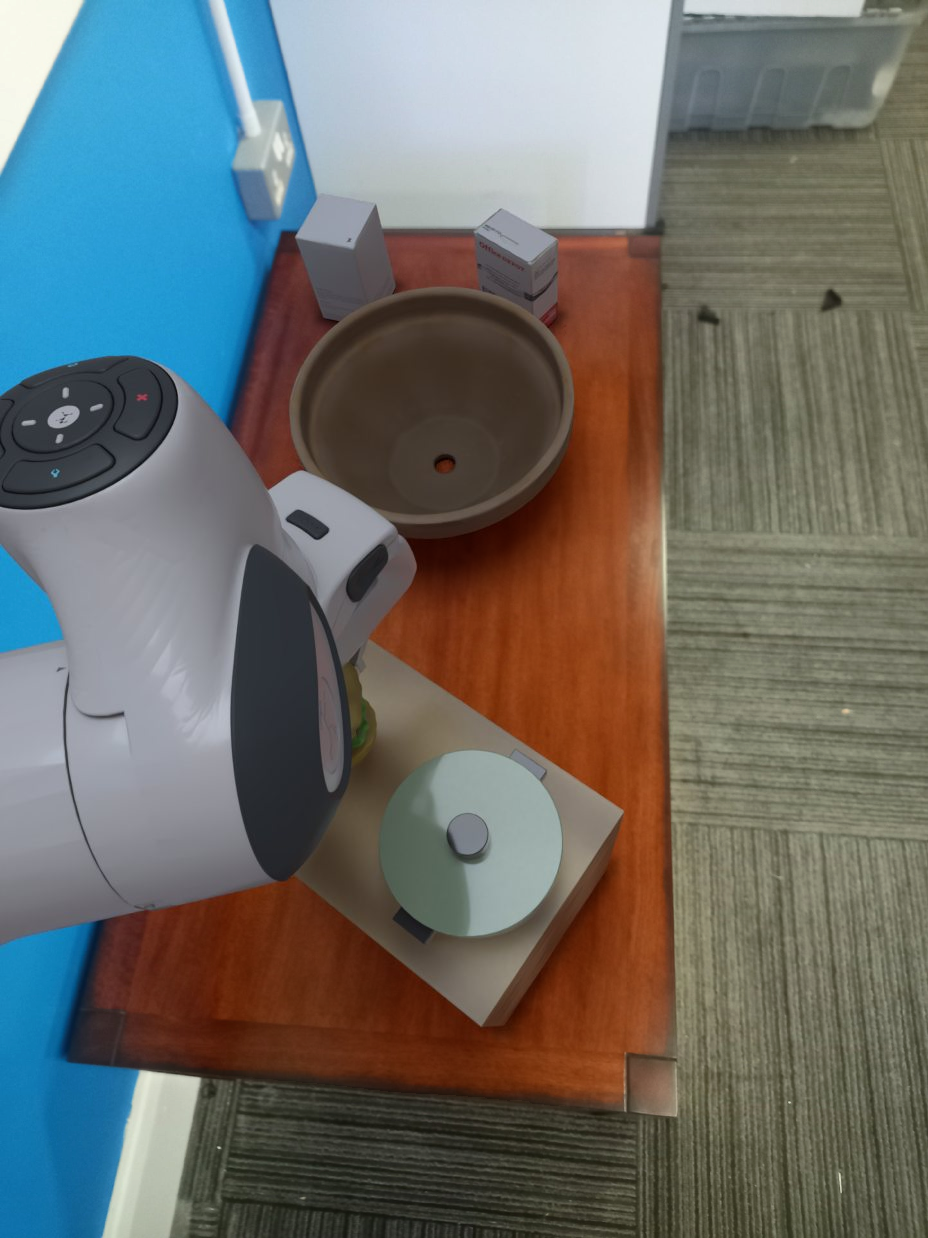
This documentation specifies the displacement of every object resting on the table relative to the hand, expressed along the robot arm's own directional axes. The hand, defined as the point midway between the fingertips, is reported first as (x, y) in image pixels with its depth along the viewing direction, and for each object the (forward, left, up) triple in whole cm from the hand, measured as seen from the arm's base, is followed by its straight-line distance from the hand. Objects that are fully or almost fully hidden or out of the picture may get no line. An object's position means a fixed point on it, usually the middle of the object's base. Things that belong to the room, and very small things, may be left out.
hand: (309, 719), depth 54 cm
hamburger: (0, 0, -5) cm, 5 cm away
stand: (0, -6, -32) cm, 33 cm away
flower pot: (+34, +20, -33) cm, 51 cm away
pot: (0, -12, -8) cm, 15 cm away
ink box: (+57, +26, -33) cm, 71 cm away
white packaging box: (+48, +44, -33) cm, 73 cm away
